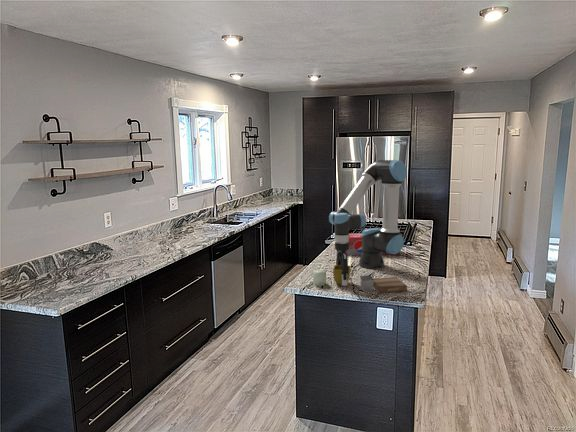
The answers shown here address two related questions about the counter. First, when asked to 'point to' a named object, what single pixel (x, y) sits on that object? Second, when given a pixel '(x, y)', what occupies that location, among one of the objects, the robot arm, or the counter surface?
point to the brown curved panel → (389, 285)
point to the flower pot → (339, 274)
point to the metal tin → (366, 283)
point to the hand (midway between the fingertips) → (342, 282)
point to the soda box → (360, 246)
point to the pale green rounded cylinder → (319, 277)
